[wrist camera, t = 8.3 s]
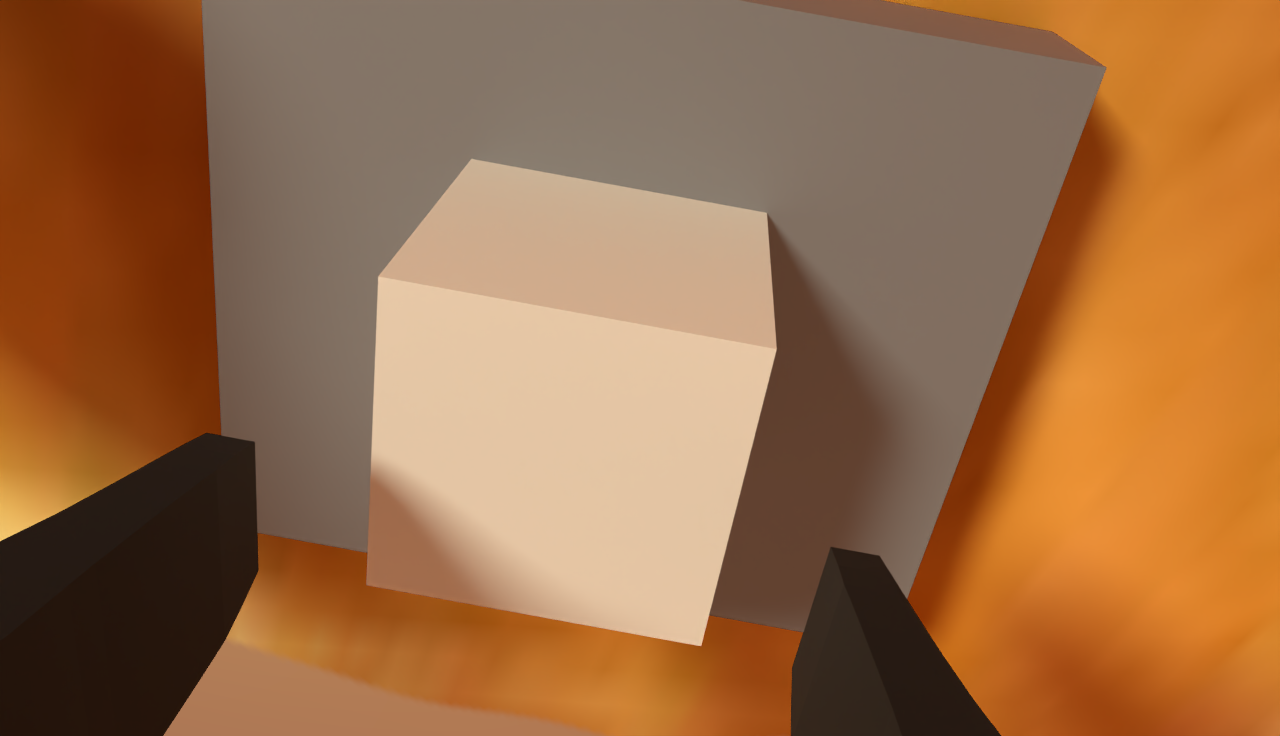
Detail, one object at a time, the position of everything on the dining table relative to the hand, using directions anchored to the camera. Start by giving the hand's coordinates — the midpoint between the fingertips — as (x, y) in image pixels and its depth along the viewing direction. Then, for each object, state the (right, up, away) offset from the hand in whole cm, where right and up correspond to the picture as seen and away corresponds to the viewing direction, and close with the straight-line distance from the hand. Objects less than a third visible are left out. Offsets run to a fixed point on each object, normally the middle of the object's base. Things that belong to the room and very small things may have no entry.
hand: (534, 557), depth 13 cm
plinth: (+1, +4, +8) cm, 9 cm away
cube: (+1, +3, +5) cm, 6 cm away
